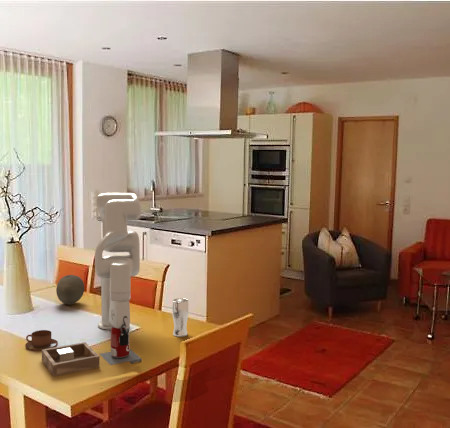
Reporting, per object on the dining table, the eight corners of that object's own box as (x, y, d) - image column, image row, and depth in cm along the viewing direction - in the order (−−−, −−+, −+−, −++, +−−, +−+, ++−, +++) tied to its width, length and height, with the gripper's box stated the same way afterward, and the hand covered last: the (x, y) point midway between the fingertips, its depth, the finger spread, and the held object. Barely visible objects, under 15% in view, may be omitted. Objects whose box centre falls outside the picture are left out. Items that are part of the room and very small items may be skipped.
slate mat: (99, 356, 195) (99, 353, 195) (129, 350, 201) (129, 348, 201) (110, 367, 185) (110, 364, 185) (141, 361, 191) (141, 358, 191)
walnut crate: (41, 362, 188) (41, 349, 187) (85, 354, 196) (85, 342, 196) (53, 379, 174) (53, 365, 174) (99, 369, 183) (99, 356, 182)
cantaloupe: (50, 305, 260) (49, 275, 258) (72, 299, 271) (72, 271, 270) (68, 310, 252) (67, 280, 250) (90, 304, 263) (90, 275, 262)
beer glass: (185, 337, 217) (186, 303, 215) (169, 336, 218) (170, 301, 217) (190, 332, 224) (190, 298, 222) (174, 331, 225) (175, 297, 224)
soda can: (113, 360, 189) (113, 328, 187) (108, 354, 195) (108, 323, 193) (131, 357, 192) (131, 326, 190) (126, 351, 198) (126, 321, 196)
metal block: (56, 360, 188) (56, 349, 187) (70, 357, 190) (70, 347, 190) (60, 365, 184) (59, 354, 183) (74, 362, 186) (73, 351, 186)
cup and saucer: (23, 355, 195) (23, 339, 194) (26, 344, 206) (26, 329, 206) (57, 352, 198) (56, 337, 197) (58, 341, 210) (58, 327, 209)
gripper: (102, 291, 196) (102, 336, 198) (119, 302, 181) (119, 351, 183) (121, 288, 200) (121, 333, 202) (139, 299, 185) (138, 347, 187)
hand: (120, 341), depth 193 cm, fingers open, 7 cm apart
